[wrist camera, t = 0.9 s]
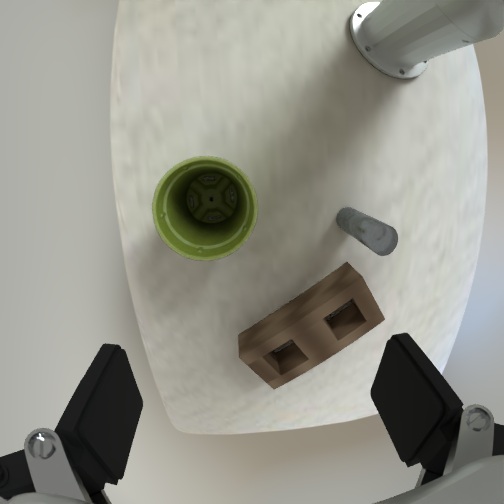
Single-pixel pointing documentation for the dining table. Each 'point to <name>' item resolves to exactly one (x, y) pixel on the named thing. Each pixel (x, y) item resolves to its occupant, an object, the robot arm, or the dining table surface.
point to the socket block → (310, 327)
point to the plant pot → (204, 208)
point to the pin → (368, 230)
